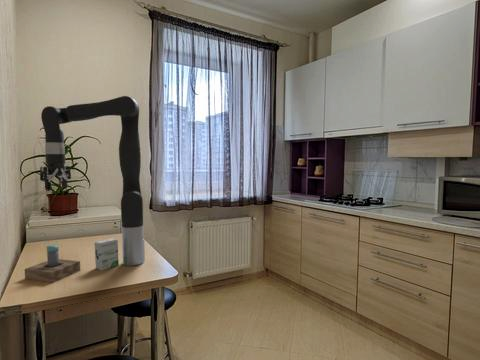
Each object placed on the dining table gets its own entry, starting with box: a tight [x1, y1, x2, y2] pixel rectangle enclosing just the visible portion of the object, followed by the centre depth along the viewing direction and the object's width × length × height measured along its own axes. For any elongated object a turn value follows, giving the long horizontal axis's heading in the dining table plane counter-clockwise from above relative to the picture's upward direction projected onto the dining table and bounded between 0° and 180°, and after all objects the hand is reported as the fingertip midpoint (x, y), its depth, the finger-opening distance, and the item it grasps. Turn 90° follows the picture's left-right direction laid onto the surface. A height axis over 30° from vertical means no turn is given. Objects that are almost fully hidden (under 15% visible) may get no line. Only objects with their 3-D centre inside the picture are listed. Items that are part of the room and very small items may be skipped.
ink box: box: [94, 238, 120, 271], centre depth 141 cm, size 9×5×12 cm, turn 141°
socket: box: [24, 258, 81, 283], centre depth 132 cm, size 14×14×4 cm
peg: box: [46, 244, 60, 268], centre depth 132 cm, size 4×4×12 cm
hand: (56, 189), depth 141 cm, fingers open, 8 cm apart
